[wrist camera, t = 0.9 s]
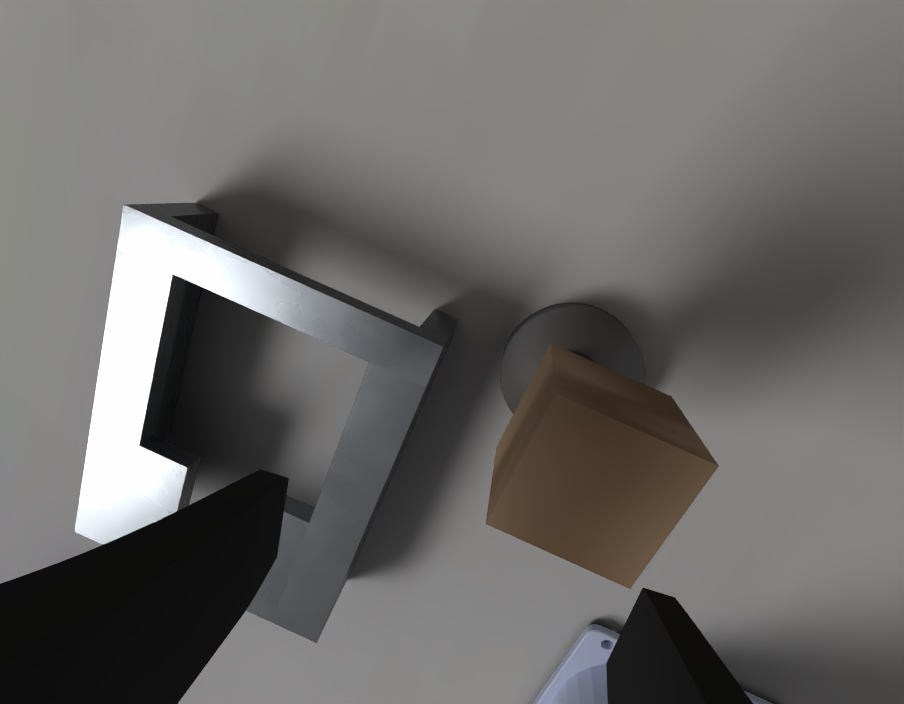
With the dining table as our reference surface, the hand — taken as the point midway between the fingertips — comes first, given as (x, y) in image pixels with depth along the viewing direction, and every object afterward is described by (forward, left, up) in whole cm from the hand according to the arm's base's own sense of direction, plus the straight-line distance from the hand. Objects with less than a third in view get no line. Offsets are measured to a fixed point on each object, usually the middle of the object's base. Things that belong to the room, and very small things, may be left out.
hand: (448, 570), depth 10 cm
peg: (-2, -2, -10) cm, 10 cm away
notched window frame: (+8, +5, -10) cm, 13 cm away
